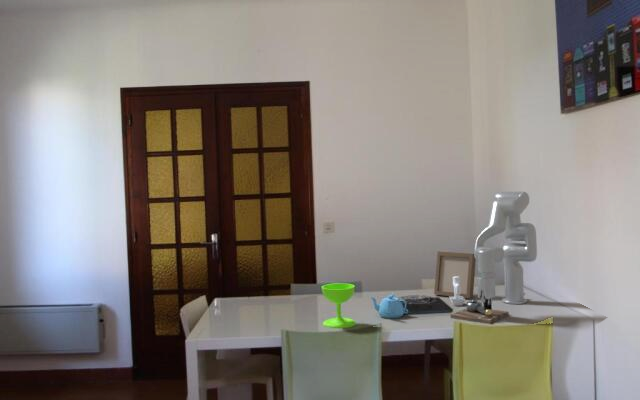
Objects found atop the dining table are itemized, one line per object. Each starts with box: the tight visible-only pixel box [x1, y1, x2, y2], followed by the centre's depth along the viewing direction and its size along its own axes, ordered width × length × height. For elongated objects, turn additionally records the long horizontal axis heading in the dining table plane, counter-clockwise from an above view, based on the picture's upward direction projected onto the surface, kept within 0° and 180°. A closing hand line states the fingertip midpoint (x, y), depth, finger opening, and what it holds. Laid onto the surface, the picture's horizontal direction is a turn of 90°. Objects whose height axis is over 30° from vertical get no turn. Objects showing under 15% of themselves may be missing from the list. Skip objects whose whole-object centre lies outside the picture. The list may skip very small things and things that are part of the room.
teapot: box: [369, 291, 409, 319], centre depth 280 cm, size 15×15×10 cm
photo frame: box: [433, 251, 477, 300], centre depth 322 cm, size 15×22×25 cm
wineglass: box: [321, 282, 357, 329], centre depth 268 cm, size 16×16×18 cm
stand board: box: [450, 307, 510, 325], centre depth 273 cm, size 21×20×2 cm
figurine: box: [448, 276, 466, 307], centre depth 299 cm, size 7×9×15 cm
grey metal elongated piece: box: [466, 299, 492, 316], centre depth 272 cm, size 19×7×5 cm, turn 12°
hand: (487, 312), depth 271 cm, fingers closed
